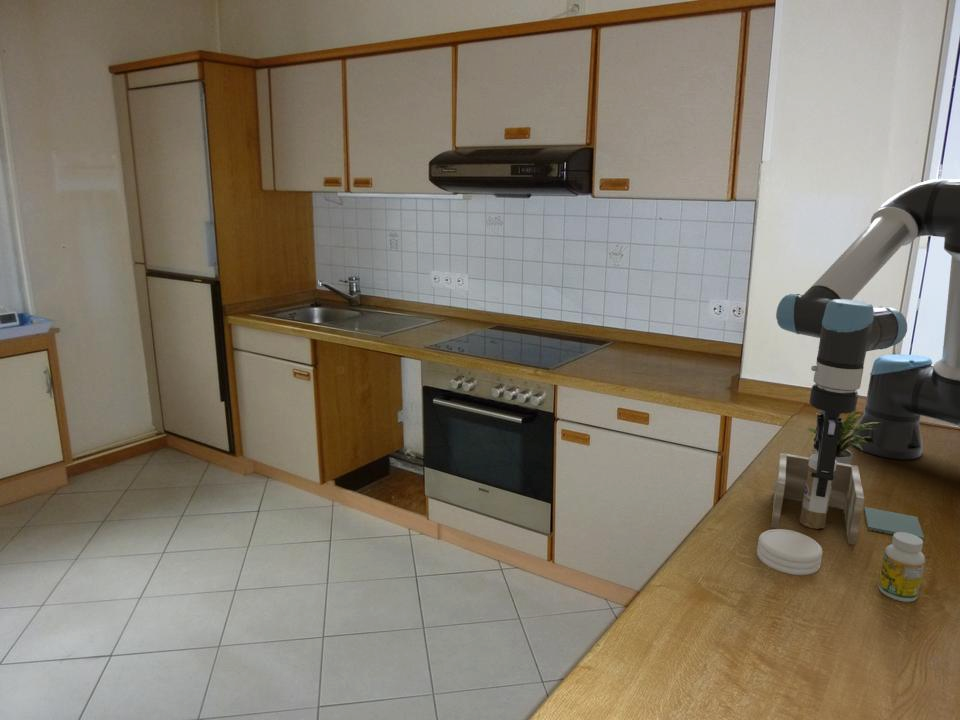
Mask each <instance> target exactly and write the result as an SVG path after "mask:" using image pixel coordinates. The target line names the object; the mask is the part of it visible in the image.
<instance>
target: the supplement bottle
mask: <svg viewBox="0 0 960 720" xmlns="http://www.w3.org/2000/svg"><path fill="white" fill-rule="evenodd" d="M891 542H892V543H891V544H889V545H887V546H886V548H885V549H884V555H883V561H882V566H881V572H880V576H879V577H880V578H879V582H878V589H879V590H880V592H881V593H882V594H884V595H885V596H886V597H888V598H890V599H892V600H895V601H899V602H904V603H910V602H914V601H916V599H918V595H919V591H920V587H921V582H922V577H923V573H924V569H925V562H926V558H925V557H926V556H925V555H924V554H923V552H922V550H923V546H924V541H922V539H921V538H919V537H917V536H915V535H913V534H910V533H905V532H896V533H894V535H892V540H891Z"/></svg>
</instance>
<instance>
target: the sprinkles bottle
mask: <svg viewBox="0 0 960 720" xmlns="http://www.w3.org/2000/svg"><path fill="white" fill-rule="evenodd" d="M808 458H809V464H808V465H809V471H808V477H807V483H806V487H805V492H804V498H803V501H802V504H801V505H802V506H801V513H800V516H799V519H798V520H799V523H800V524H801V525H802V526H804V527H806V528H808V529H809V528H810V529H814V528H815V530H817V529H820V528H821V529H824V528H825V527H826V519H827V513H828V509H829V500H830V495H831V489H832V481H833V480H832V481H831V486H830V491H829V497H828V502H827V508H826V513H825V514H824V513H819V512H814V511H809V504H810V498H811V492H812V486H813V481H814V477H811V473H812V472H813V473H816V470H817V461H818V454H813V455H812V454H811V455H809V457H808ZM836 464H837V461H836V459H835V466H834V471H835V470H836ZM821 472H826V473H829V472H827V471H821ZM833 475H834V473H833ZM821 529H820V530H821Z"/></svg>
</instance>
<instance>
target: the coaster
mask: <svg viewBox="0 0 960 720" xmlns="http://www.w3.org/2000/svg"><path fill="white" fill-rule="evenodd" d="M823 553H824V552H823V548H822V546H821V545H820V543H818V542H817V541H816V540H815V539H813V538H812V537H810V536H808V535H806V534H803V533H801V532H798V531H795V530H789V529H782V528H778V529H777V528H772V529H769V530H765V531H763V532H761V534H759V536H758V542H757V549H756V554H757V557H758V559H759V560H760V561H761V562H762V563H763V564H764V565H766V566H767V567H769V568H770V569H773V570H776V571H777V572H781V573H782V574H783V573H784V574H789V575H793V576H808V575H811V574H812V575H813V574H815V573H817V572H818V571H819V570H820V568H821V562H822V556H823Z"/></svg>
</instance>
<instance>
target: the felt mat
mask: <svg viewBox="0 0 960 720" xmlns="http://www.w3.org/2000/svg"><path fill="white" fill-rule="evenodd" d="M863 511H865V512H864V516H865V517H866V518H865V517H864V518H865V523H866V522H867V523H866V528H867V527H868V528H867V530H868V529H871V530H870V531H872V530H874V531H873V532H877V531H879V533H882V532H884V533H883V534H889V535H892V534H893V535H894V533H896V532H905V533H910V534H913V535H915V536H917V537H919V538H921V539H922V541H923V542H924V541H925V536H924V533H923V531H922V527H921V524H920V521H919V519H918V516H916V515H915V516H914V515H910V514H909V515H908V514H904V513H899V512H892V511H888V510H883V509H877V508H873V507H867V506H863ZM893 535H892V536H893Z"/></svg>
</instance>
